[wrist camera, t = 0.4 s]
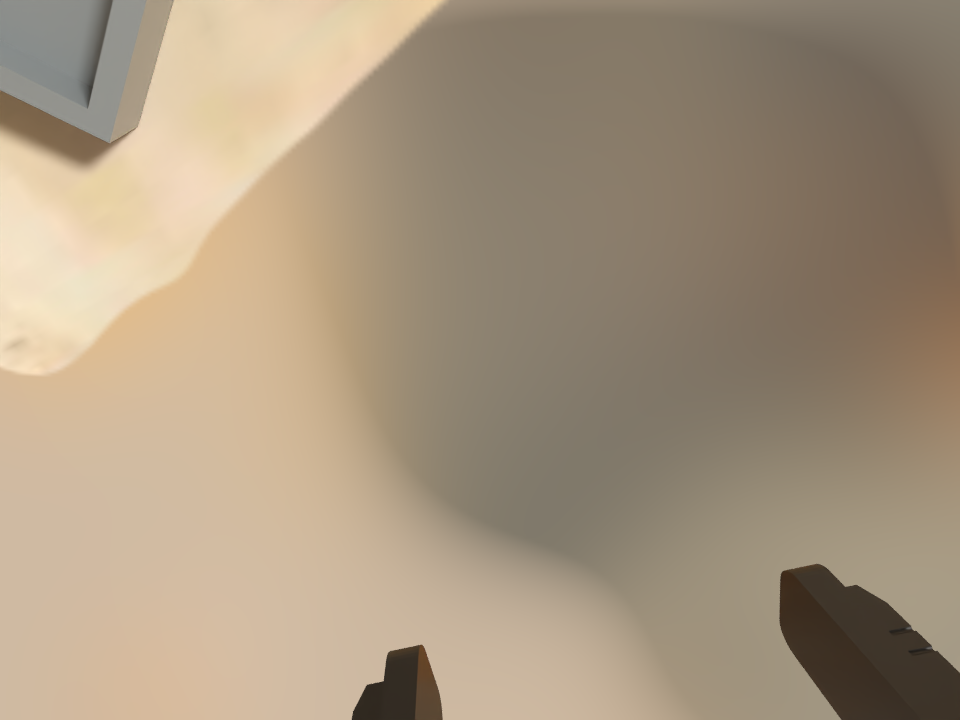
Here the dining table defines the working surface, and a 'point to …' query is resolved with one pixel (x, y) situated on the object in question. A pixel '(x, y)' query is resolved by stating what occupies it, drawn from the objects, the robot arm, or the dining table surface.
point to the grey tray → (82, 59)
